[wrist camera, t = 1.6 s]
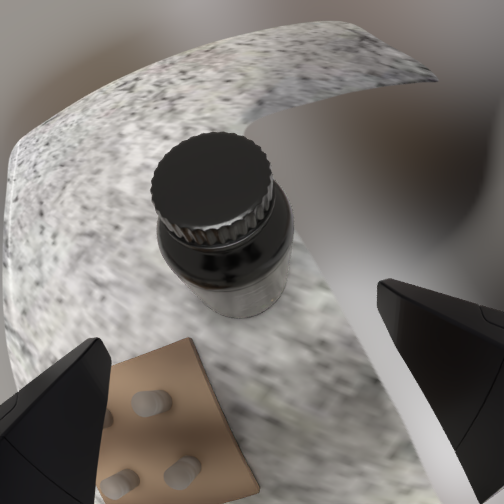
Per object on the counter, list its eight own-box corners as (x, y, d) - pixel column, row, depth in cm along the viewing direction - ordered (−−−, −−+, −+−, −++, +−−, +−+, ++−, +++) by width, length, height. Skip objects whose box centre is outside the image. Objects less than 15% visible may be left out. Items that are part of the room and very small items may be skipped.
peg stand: (259, 487, 16) (256, 510, 12) (119, 515, 15) (95, 532, 11) (191, 338, 20) (174, 330, 17) (65, 384, 19) (34, 381, 16)
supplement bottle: (177, 272, 22) (100, 179, 11) (244, 216, 24) (221, 94, 13) (237, 341, 20) (192, 299, 9) (307, 275, 22) (337, 172, 11)
